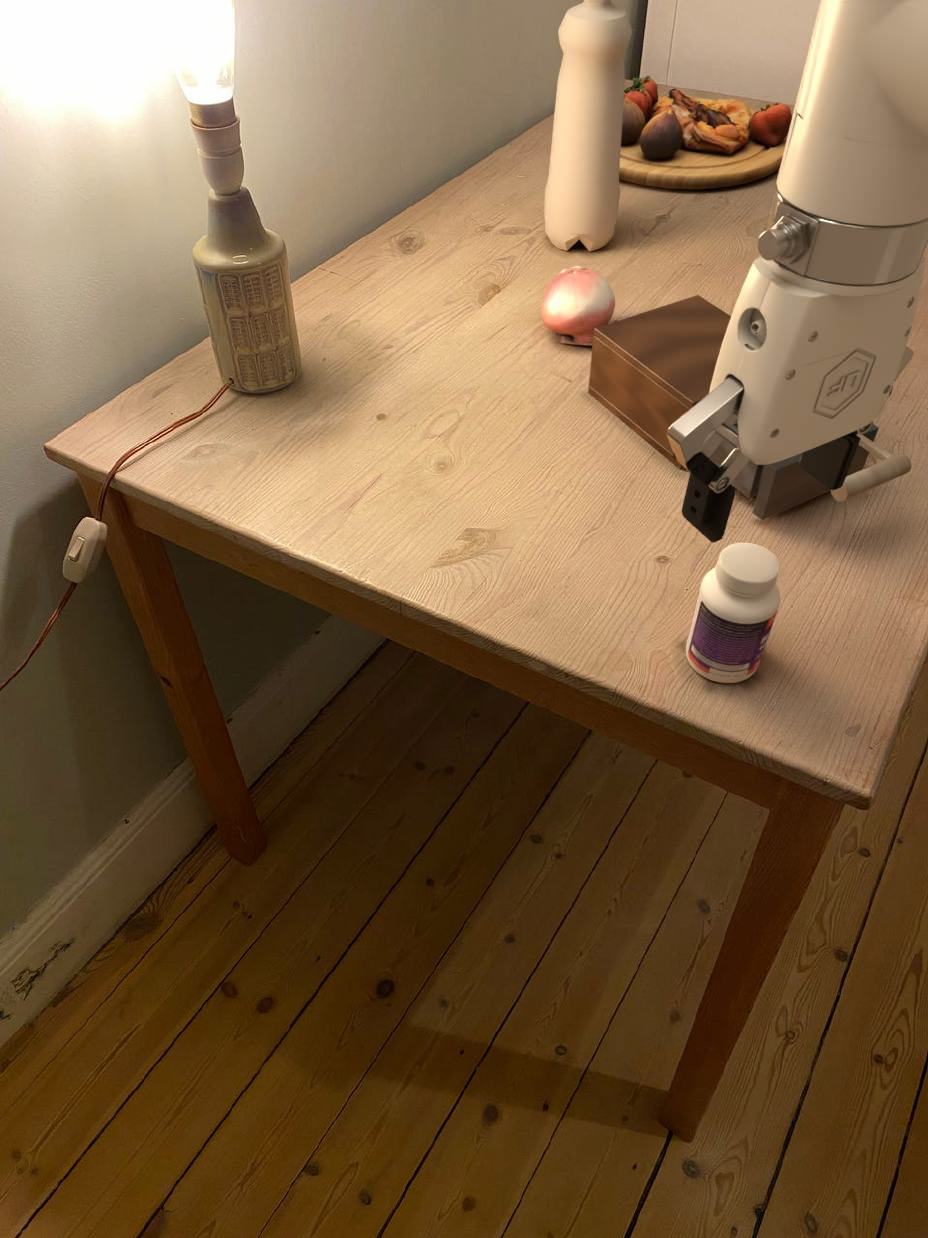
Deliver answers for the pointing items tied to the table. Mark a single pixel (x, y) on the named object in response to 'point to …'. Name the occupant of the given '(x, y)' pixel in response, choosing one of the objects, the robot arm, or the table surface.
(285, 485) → the table surface
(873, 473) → the drawer
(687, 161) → the wooden plate
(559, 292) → the onion
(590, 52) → the bottle
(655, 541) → the table surface
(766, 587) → the pill bottle
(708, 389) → the cabinet
